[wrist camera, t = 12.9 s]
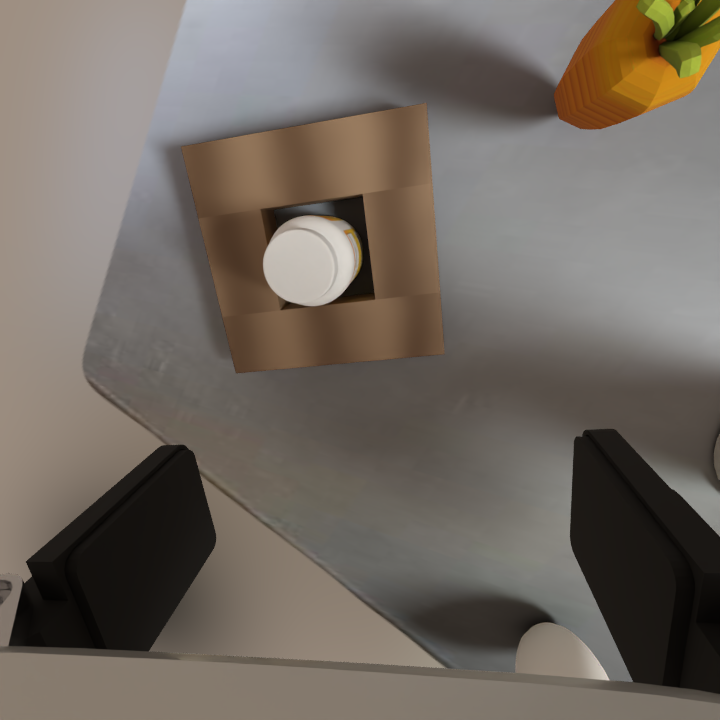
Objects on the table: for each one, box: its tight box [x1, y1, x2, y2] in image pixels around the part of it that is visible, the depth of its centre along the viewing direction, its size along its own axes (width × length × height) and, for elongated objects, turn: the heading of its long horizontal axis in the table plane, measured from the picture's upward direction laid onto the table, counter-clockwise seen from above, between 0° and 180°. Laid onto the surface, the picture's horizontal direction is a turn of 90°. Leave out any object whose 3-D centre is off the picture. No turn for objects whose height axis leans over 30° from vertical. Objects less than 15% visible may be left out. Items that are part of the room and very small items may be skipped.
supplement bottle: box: [263, 215, 364, 306], centre depth 27 cm, size 5×5×10 cm
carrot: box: [554, 0, 720, 129], centre depth 20 cm, size 5×5×15 cm
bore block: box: [181, 103, 444, 373], centre depth 30 cm, size 16×16×3 cm
